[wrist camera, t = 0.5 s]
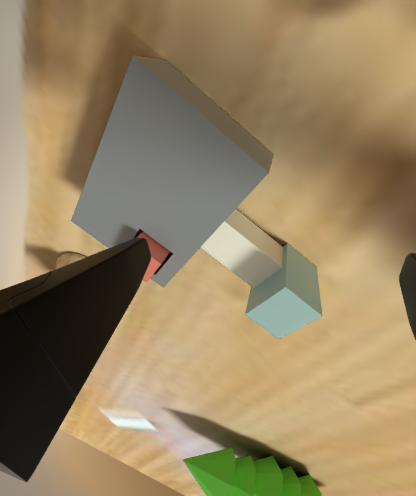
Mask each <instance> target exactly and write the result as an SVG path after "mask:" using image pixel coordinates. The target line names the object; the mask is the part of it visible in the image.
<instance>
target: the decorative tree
mask: <svg viewBox="0 0 416 496" xmlns="http://www.w3.org/2000/svg"><path fill="white" fill-rule="evenodd" d="M183 461H184V463H185V464H186V466H187V467H188V469H189V470H190V472H191V473H192V475H193V476H194V478H195V479H196V481H197V482H198V484H199V485H200V487H201V488H202V490H203V491H204V493H205V494H206V496H322V494H321V492H320V491H319V489H318V487H317V486H316V484H315V483H314V481H313V479H312V478H311V476H310V475H306V476H303V477H299V478H297V476H296V474H295V472H294V470H293V469H292V467H291V466H290V467H287V468H284V469H281V470H280V468H279V466H278V464H277V462H276V460H275V459H274V457H273V456H270V457H266V458H263V459H259V460H255V461H253V460H252V457H251V456H246V457H240V458H235V456H234V453H233V449H232V448H228V449H224V450H220V451H216V452H212V453H207V454H203V455H199V456H195V457H191V458H187V459H183Z"/></svg>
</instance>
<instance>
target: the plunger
mask: <svg viewBox="0 0 416 496" xmlns="http://www.w3.org/2000/svg"><path fill="white" fill-rule="evenodd" d="M137 238H145V239H146V240H147V242H148V245H149V249H150V253H151V261H150V264H149V266H148V268H147V270H146V273H145V275H144V277H143V280H144V281H145V282H147V281H148V280H149V278H150V277H151V276H152V275H153V274H154V272H155V271H156V270H157V269H158V267H159V266H160V265H161V264H162V262H163V261H164V260H165V258H166V257H167V255H168V254H169V253H170V251H169V250H168V249H166V248H165V247H164V246H162V245H161V244H160V243H158V242H157V241H156V240H154V239H153V238H152V237H150V236H149V235H148V234H146V233H145V232H144V231H143V232H142V233H141V234H140V235H139V236H138V237H137Z"/></svg>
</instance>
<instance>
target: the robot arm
mask: <svg viewBox="0 0 416 496" xmlns="http://www.w3.org/2000/svg"><path fill="white" fill-rule="evenodd" d="M150 261H151V253H150V249H149V245H148V242H147V240H146V239H145V238H134V239H131V240H129V241H126V242H124V243H121V244H119V245H116V246H113V247H111V248H108V249H106V250H103V251H101V252H98V253H96V254H93V255H91V256H88V257H86V258H83V259H81V260H78V261H76V262H73V263H71V264H68V265H66V266H63V267H61V268H58V269H56V270H53V271H50V272H48V273H45V274H43V275H40V276H38V277H35V278H32V279H30V280H27V281H25V282H22V283H19V284H16V285H14V286H11V287H8V288H5V289H2V290H0V471H2V472H5V473H7V474H9V475H11V476H13V477H16V478H18V479H20V480H22V481H25V482H27V481H28V480H29V478H30V477H31V476H32V474H33V473H34V471H35V469H36V467H37V466H38V464H39V462H40V460H41V459H42V457H43V455H44V453H45V452H46V450H47V448H48V446H49V445H50V443H51V441H52V439H53V438H54V436H55V434H56V432H57V431H58V429H59V427H60V425H61V424H62V422H63V420H64V418H65V417H66V415H67V413H68V411H69V410H70V408H71V406H72V404H73V403H74V401H75V399H76V397H77V395H78V394H79V392H80V390H81V388H82V387H83V385H84V383H85V382H86V380H87V378H88V376H89V375H90V373H91V371H92V369H93V368H94V366H95V364H96V362H97V361H98V359H99V357H100V355H101V354H102V352H103V350H104V348H105V347H106V345H107V343H108V341H109V340H110V338H111V336H112V334H113V333H114V331H115V329H116V327H117V326H118V324H119V322H120V320H121V319H122V317H123V315H124V313H125V312H126V310H127V308H128V307H129V305H130V303H131V301H132V300H133V298H134V296H135V294H136V292H137V291H138V288H139V286H140V284H141V282H142V280H143V277H144V275H145V273H146V270H147V268H148V266H149V264H150ZM399 282H400V287H401V291H402V295H403V299H404V303H405V307H406V312H407V316H408V320H409V323H410V326H411V329H412V332H413V334H414V337H415V340H416V253H410V254H408V255H407V257H406V259H405V262H404V264H403V267H402V270H401V273H400V276H399Z"/></svg>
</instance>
